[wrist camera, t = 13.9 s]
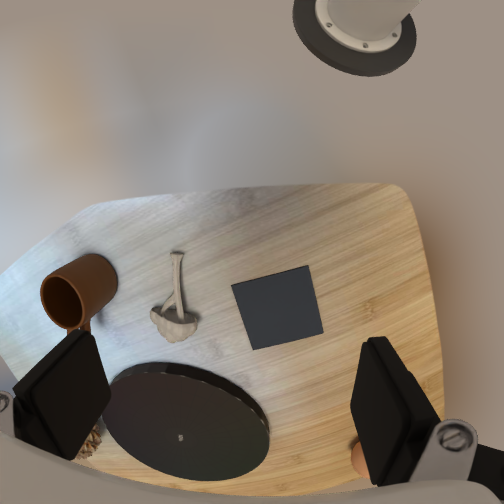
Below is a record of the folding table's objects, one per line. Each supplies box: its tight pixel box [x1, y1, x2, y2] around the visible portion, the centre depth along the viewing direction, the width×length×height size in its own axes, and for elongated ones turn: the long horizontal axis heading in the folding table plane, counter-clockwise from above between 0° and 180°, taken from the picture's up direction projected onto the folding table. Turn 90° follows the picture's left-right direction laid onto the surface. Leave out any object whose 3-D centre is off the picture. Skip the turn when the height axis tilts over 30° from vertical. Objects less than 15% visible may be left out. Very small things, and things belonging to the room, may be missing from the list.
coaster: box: [231, 265, 324, 350], centre depth 39 cm, size 10×10×1 cm
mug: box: [40, 254, 117, 335], centre depth 36 cm, size 12×8×9 cm, turn 176°
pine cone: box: [75, 423, 102, 459], centre depth 42 cm, size 22×10×10 cm, turn 7°
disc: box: [102, 363, 270, 481], centre depth 45 cm, size 30×30×3 cm
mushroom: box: [150, 253, 197, 343], centre depth 38 cm, size 7×5×12 cm
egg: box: [351, 441, 370, 479], centre depth 41 cm, size 7×7×9 cm
